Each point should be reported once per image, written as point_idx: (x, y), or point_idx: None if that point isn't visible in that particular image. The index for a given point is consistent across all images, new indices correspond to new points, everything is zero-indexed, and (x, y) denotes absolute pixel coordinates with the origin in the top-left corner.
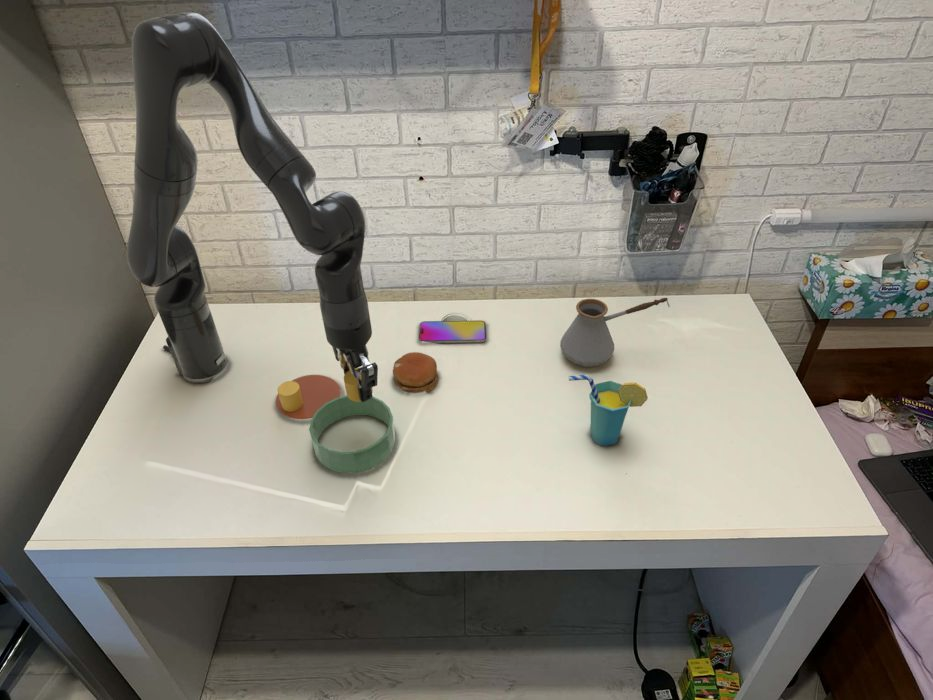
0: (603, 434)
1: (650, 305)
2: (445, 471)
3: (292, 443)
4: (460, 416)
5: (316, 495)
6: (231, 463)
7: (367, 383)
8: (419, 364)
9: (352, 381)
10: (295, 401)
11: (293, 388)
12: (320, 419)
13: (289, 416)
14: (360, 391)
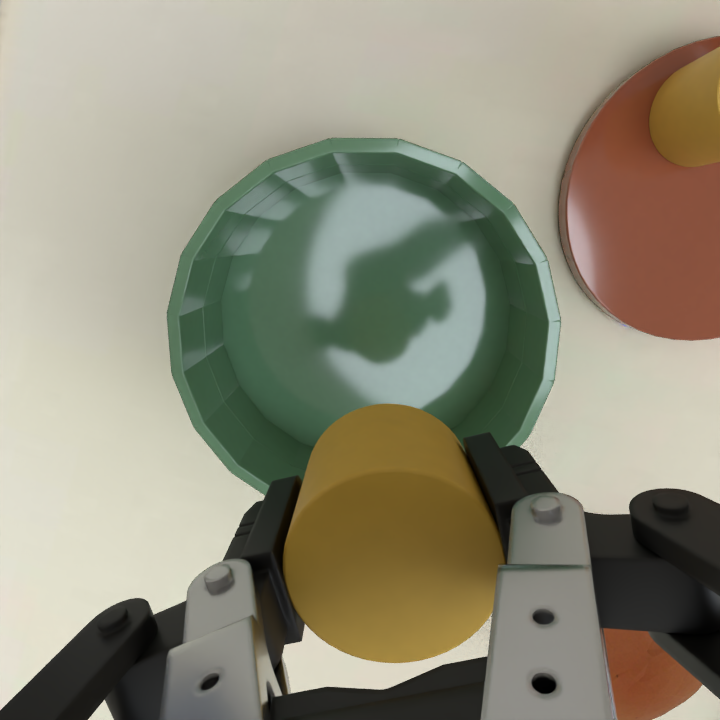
0: None
1: None
2: (149, 554)
3: (473, 78)
4: (356, 664)
5: (171, 126)
6: None
7: (109, 695)
8: (615, 681)
9: (341, 526)
10: (682, 119)
11: None
12: (488, 214)
13: (626, 86)
14: (252, 534)
